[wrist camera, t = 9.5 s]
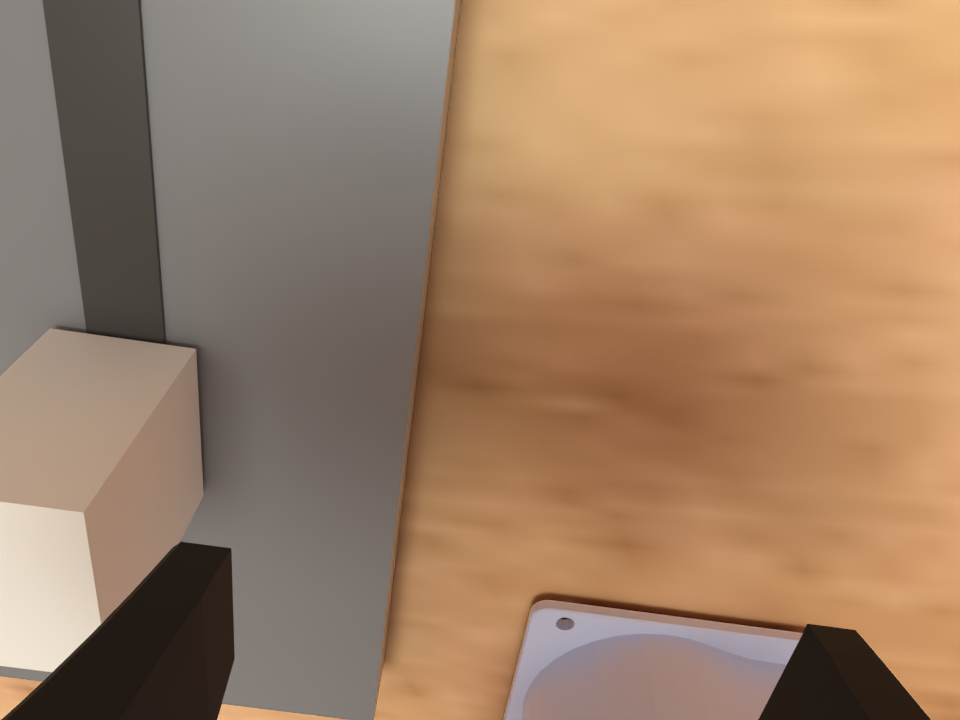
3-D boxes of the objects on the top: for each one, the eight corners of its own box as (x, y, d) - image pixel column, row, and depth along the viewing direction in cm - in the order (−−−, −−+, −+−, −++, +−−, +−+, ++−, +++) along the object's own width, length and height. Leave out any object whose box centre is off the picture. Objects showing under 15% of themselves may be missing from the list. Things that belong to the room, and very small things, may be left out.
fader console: (522, -522, 11) (523, -597, 10) (383, 664, 25) (372, 726, 23) (-342, -679, 11) (-513, -789, 9) (-9, 614, 24) (-51, 673, 23)
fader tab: (195, 348, 17) (83, 513, 12) (203, 495, 19) (109, 679, 14) (50, 328, 16) (-115, 486, 12) (74, 478, 19) (-61, 658, 14)
